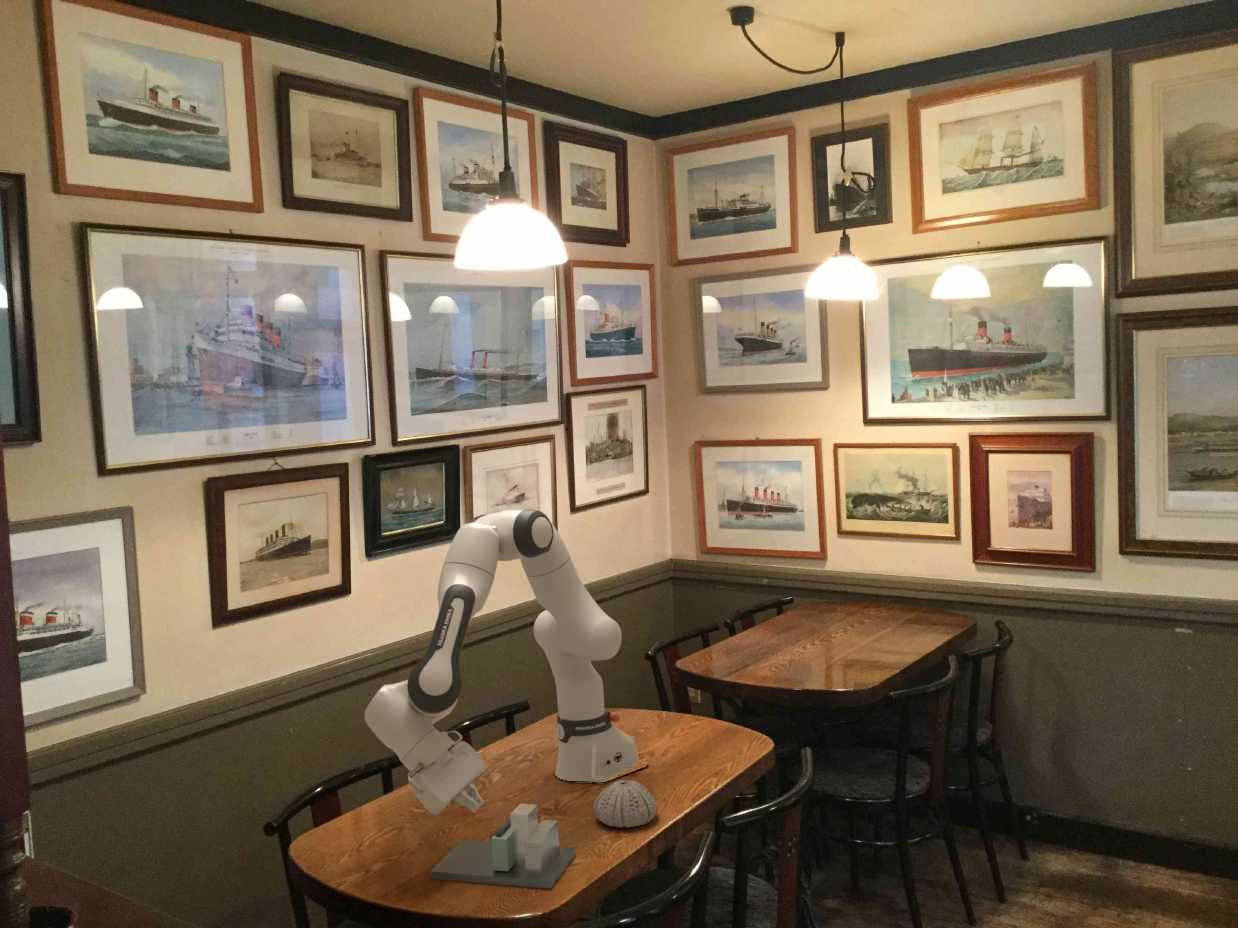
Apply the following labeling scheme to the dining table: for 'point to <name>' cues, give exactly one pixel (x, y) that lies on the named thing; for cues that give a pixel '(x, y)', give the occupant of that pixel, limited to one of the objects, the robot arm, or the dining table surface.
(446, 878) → the vise
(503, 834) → the sliding jaw
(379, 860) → the dining table surface
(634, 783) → the sea urchin shell
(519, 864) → the block
